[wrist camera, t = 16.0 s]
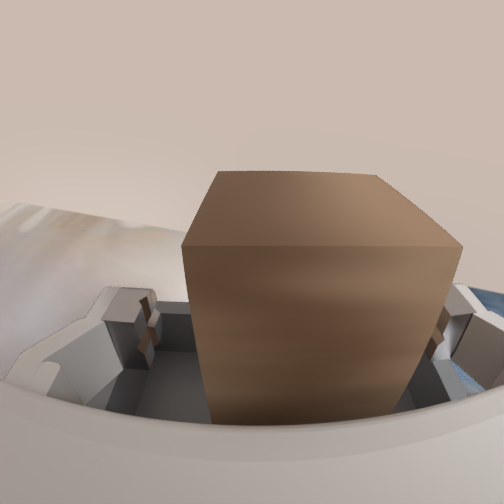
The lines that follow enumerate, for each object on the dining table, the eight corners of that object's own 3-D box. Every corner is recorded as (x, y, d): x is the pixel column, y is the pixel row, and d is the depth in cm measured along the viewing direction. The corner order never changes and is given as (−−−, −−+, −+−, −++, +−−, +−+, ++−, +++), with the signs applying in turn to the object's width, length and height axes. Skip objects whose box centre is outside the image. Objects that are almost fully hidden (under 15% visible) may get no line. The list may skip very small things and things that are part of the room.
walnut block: (327, 406, 13) (376, 175, 8) (339, 488, 9) (463, 247, 4) (234, 409, 13) (217, 171, 8) (229, 492, 10) (181, 245, 4)
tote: (398, 341, 18) (413, 298, 16) (467, 542, 5) (515, 519, 4) (146, 344, 18) (133, 300, 16) (83, 558, 6) (37, 542, 4)
